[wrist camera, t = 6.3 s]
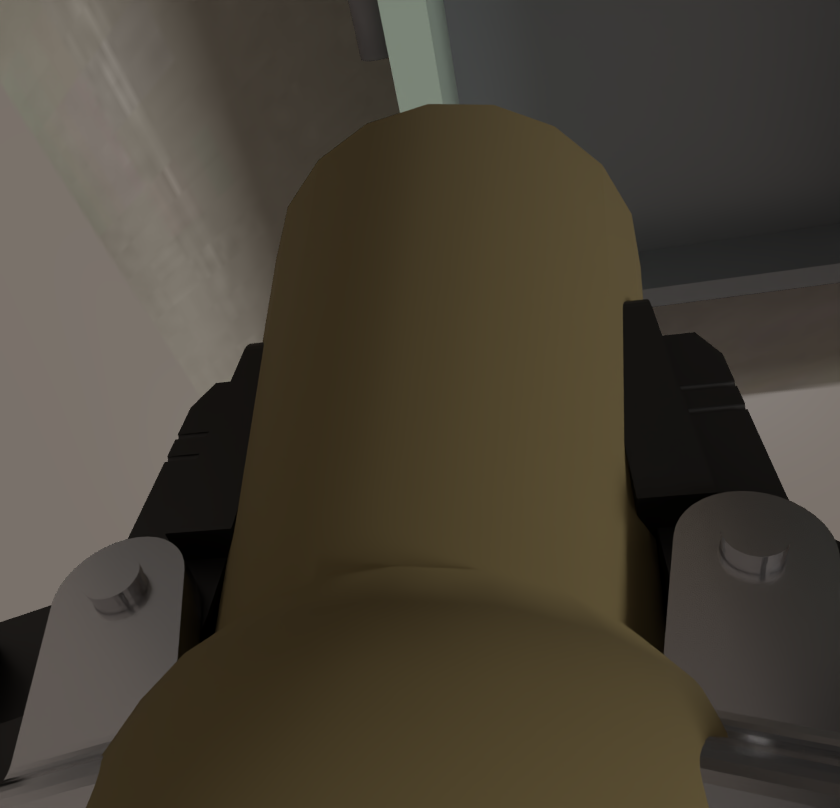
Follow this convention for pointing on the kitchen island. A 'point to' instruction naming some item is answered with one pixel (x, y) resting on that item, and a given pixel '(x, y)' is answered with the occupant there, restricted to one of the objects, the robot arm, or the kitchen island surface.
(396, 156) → the olive tall rounded piece
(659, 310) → the kitchen island surface
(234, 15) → the kitchen island surface
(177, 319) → the kitchen island surface
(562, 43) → the drawer
